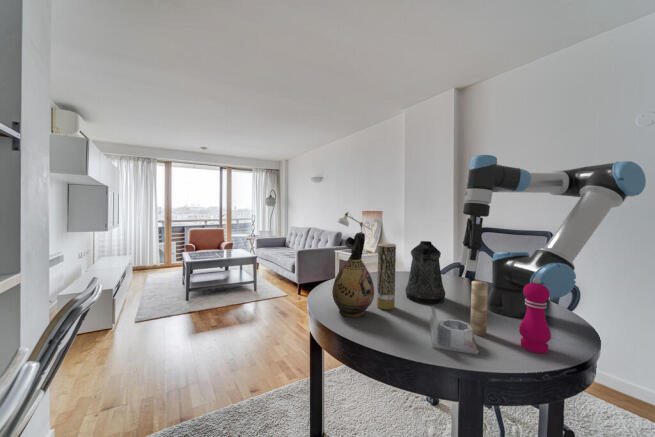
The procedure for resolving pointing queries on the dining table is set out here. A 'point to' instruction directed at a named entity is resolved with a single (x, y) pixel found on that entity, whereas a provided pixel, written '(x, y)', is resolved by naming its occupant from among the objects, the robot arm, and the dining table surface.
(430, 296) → the black tapered vessel
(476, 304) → the wooden spindle
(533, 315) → the pepper mill
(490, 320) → the dining table surface
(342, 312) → the ceramic jug
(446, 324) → the cup bracket
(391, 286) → the paper tube
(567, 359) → the dining table surface
